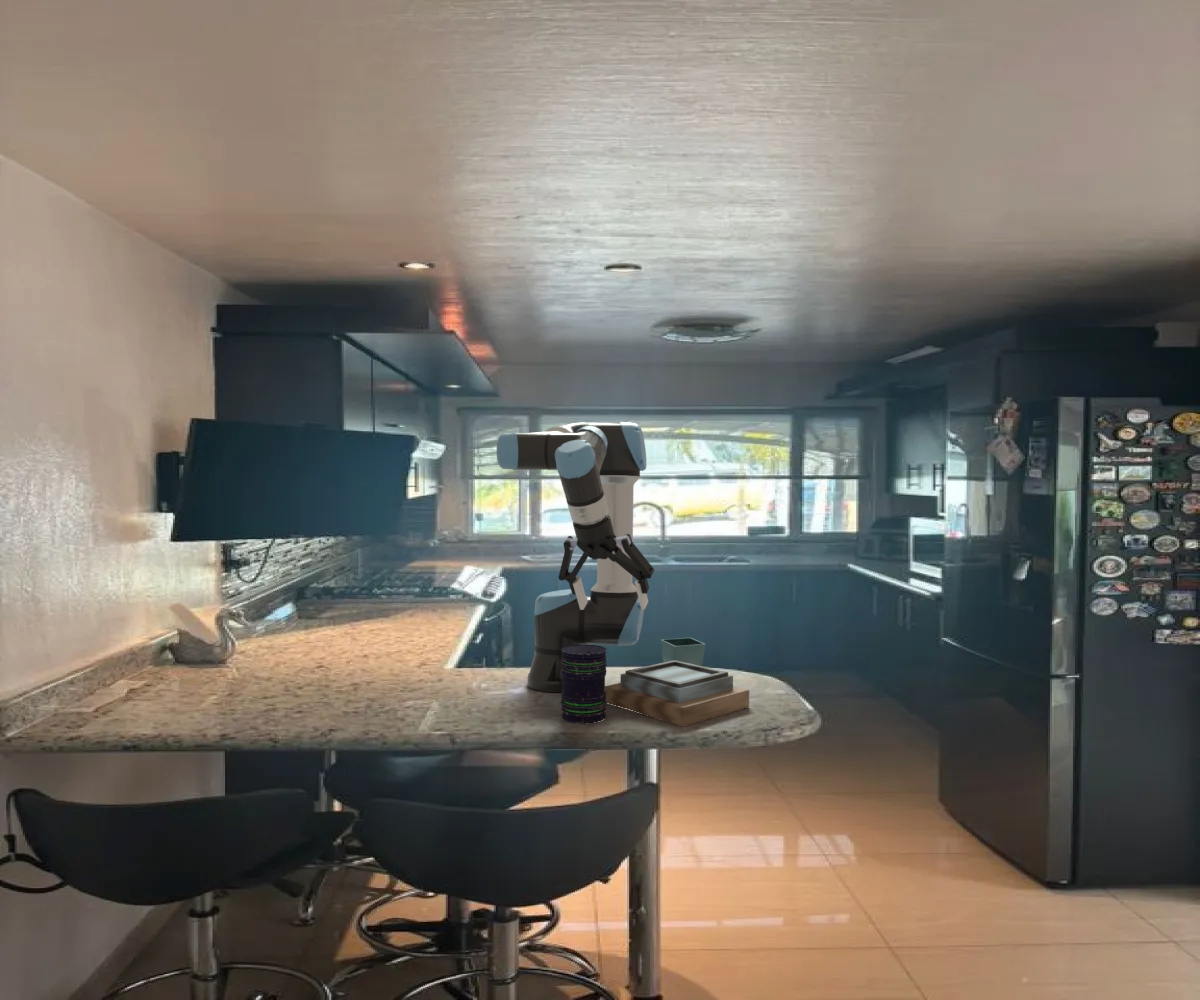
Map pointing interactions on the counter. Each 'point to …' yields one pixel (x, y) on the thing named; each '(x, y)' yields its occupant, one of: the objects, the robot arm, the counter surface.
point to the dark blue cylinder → (583, 683)
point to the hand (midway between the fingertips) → (614, 605)
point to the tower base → (679, 708)
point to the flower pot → (683, 650)
